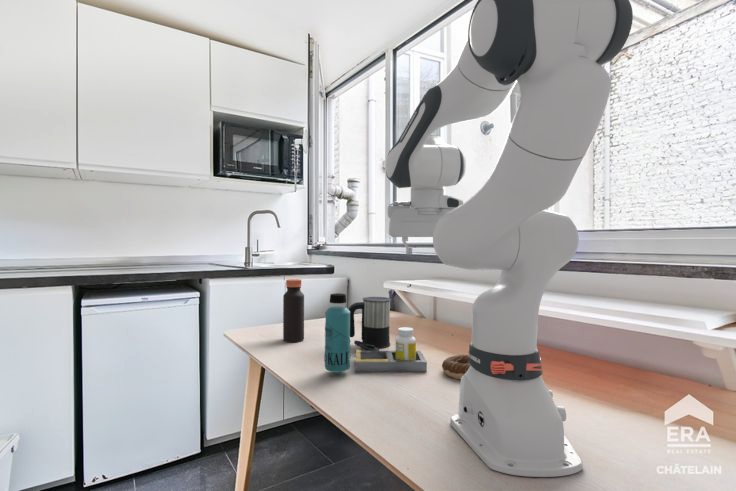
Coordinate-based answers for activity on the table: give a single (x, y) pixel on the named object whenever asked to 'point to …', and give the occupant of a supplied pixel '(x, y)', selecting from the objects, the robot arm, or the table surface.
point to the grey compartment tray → (388, 362)
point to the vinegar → (293, 312)
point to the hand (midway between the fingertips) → (426, 254)
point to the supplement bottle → (405, 344)
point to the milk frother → (372, 322)
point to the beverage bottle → (337, 335)
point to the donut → (456, 366)
